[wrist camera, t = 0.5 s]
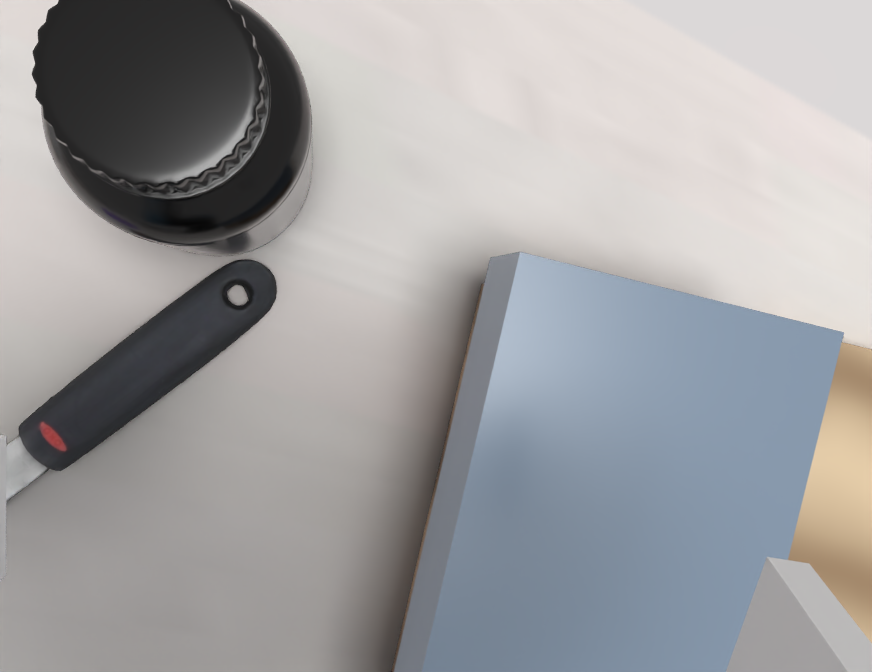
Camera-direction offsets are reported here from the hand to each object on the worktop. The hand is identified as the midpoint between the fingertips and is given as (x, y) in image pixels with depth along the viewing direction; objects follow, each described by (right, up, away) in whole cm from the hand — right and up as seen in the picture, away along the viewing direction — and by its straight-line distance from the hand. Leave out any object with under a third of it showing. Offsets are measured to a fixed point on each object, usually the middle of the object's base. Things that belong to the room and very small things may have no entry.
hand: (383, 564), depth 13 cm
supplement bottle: (-7, +10, +15) cm, 20 cm away
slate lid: (+6, -3, +13) cm, 15 cm away
